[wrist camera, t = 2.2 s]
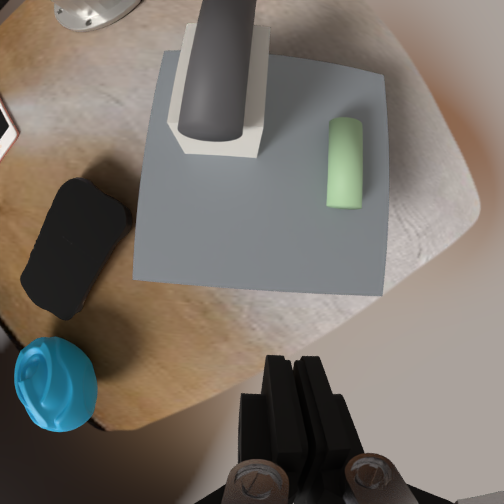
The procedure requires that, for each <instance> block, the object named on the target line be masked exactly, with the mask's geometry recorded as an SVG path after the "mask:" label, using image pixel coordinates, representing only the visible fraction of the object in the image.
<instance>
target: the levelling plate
mask: <svg viewBox="0 0 504 504" xmlns="http://www.w3.org/2000/svg"><path fill="white" fill-rule="evenodd" d="M255 7H256V0H203V2H202V6H201V10H200V14H199V18H198V22H197V23H187V27H186V31H185V35H184V39H183V43H182V47H181V50H177V51H164V55H163V59H162V63H161V67H160V72H159V76H158V80H157V85H156V90H155V95H154V100H153V105H152V110H151V115H150V121H149V127H148V133H147V139H146V145H145V152H144V159H143V166H142V173H141V181H140V190H139V199H138V208H137V219H136V231H135V244H134V261H133V280H142V281H152V282H163V283H174V284H185V285H197V286H209V287H221V288H235V289H249V290H264V291H280V292H297V293H316V294H337V295H362V296H382V294H383V285H384V275H385V264H386V251H387V236H388V214H389V141H388V120H387V105H386V93H385V82H384V75H381V74H377V73H373V72H369V71H365V70H361V69H357V68H352V67H348V66H343V65H338V64H333V63H328V62H322V61H316V60H310V59H304V58H297V57H290V56H282V55H273V54H269V44H270V30H271V27H268V26H257V25H254V16H255Z"/></svg>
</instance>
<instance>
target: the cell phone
mask: <svg viewBox="0 0 504 504" xmlns="http://www.w3.org/2000/svg"><path fill="white" fill-rule="evenodd" d="M18 136H19V132H18V130H17V128H16V127H15V125H14V123H13V121H12V119H11V118H10V116H9V114H8V112H7V110H6V108H5V106H4V104H3V102H2V100H1V98H0V162H1V161H2V159H3V158H4V157H5V155H6V154H7V152H8V151H9V149H10V148H11V147H12V145H13V144H14V143H15V141H16V140H17V138H18Z"/></svg>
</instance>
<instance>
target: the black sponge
mask: <svg viewBox="0 0 504 504" xmlns="http://www.w3.org/2000/svg"><path fill="white" fill-rule="evenodd" d="M131 226H132V215H131V212H130V210H129V209H128V208H127V207H126V206H124V205H123V204H122V203H120V202H119V201H118V200H116V199H114V198H113V197H111V196H108V195H106V194H104V193H103V192H101V191H100V190H99V189H98V188H97V187H96V186H95V185H94V184H93V183H92V182H91V181H90V180H88V179H84V178H73V179H70V180H68V181H67V182H65V183H64V184H63V185H62V186H61V187H60V189H59V190H58V192H57V194H56V196H55V198H54V200H53V203H52V206H51V208H50V209H49V211H48V213H47V216H46V219H45V221H44V224H43V226H42V228H41V231H40V234H39V236H38V239H37V240H36V243H35V245H34V249H33V250H32V252H31V254H30V258H29V261H28V264H27V265H26V267H25V270H24V271H23V273H22V275H21V277H20V281H21V285H22V286H23V288H24V290H25V291H26V293H27V295H28V296H29V298H30V299H31V300H32V301H33V302H34V303H35V304H36V305H37V306H39V307H40V308H42V309H45V310H47V311H49V312H51V313H53V314H54V315H55V316H57V317H58V318H60V319H62V320H70V319H71V318H72V317H73V316H74V315H75V314H76V313H78V312H80V311H81V310H82V308H83V304H84V301H85V299H86V297H87V295H88V293H89V292H90V290H91V288H92V286H93V284H94V283H95V281H96V279H97V277H98V276H99V273H100V272H101V270H102V268H103V266H104V265H105V263H106V262H107V260H108V258H109V257H110V255H111V253H112V252H113V250H114V248H115V246H116V245H117V243H118V242H119V241H120V240H121V239H122V238H124V237H125V236H126V235H127V234H128V233H129V231H130V229H131Z"/></svg>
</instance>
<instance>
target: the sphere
mask: <svg viewBox="0 0 504 504" xmlns="http://www.w3.org/2000/svg"><path fill="white" fill-rule="evenodd" d="M15 388H16V392H17V394H18V397H19V399H20V401H21V402H22V403H23V405H24V406H25V408H26V410H27V412H28V414H29V416H30V418H31V419H32V420H33V421H34V423H36V424H37V425H38V426H40V427H42V428H44V429H47V430H50V431H55V432H64V431H70V430H73V429H75V428H77V427H79V426H81V425H83V424H84V423H85V422H86V421H87V420H88V419H89V418H90V417H91V416H92V414H93V412H94V409H95V403H96V399H97V380H96V376H95V372H94V369H93V365H92V362H91V361H90V359H89V358H88V357H87V356H86V354H85V353H84V352H83V351H82V350H81V349H79V348H78V347H77V346H75V345H74V344H72V343H71V342H69V341H67V340H65V339H62V338H59V337H50V338H49V337H41V338H37V339H36V340H34V341H33V342H31V343H30V344H29V345H28V346H26V347H25V348H24V349H23V350H21V352H20V354H19V356H18V359H17V362H16V367H15Z"/></svg>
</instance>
